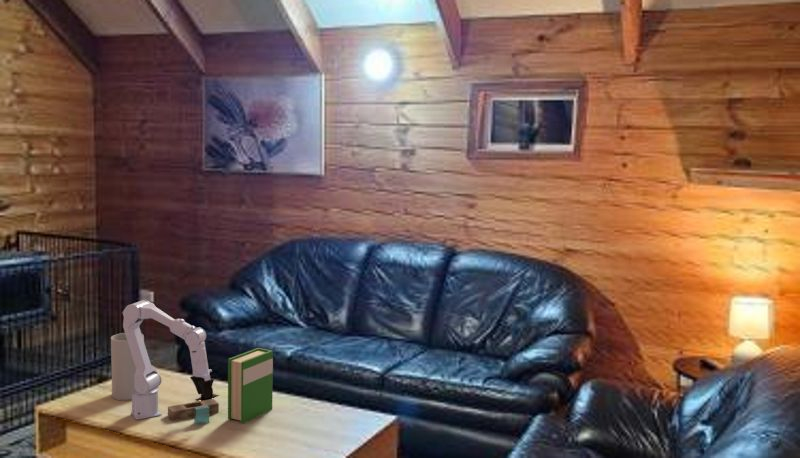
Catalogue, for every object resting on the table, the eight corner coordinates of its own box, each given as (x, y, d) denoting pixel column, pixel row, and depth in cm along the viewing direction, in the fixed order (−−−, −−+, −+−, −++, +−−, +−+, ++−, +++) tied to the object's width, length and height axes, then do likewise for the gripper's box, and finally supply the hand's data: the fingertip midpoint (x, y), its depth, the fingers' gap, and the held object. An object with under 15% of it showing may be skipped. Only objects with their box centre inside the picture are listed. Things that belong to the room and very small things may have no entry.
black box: (204, 405, 289) (204, 394, 288) (189, 402, 292) (189, 391, 291) (223, 395, 300) (223, 385, 300) (209, 392, 303) (209, 382, 302)
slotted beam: (172, 420, 271) (172, 411, 270) (167, 415, 276) (167, 406, 275) (218, 412, 280) (218, 403, 280) (213, 407, 285) (213, 398, 285)
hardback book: (242, 423, 270) (243, 362, 267) (227, 419, 273) (228, 358, 270) (272, 409, 285) (272, 350, 282) (257, 405, 289) (258, 347, 286)
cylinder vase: (111, 392, 298) (110, 334, 295) (142, 388, 303) (142, 331, 300) (112, 402, 287) (111, 342, 284) (145, 398, 292) (145, 339, 289)
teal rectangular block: (196, 425, 267) (196, 409, 267) (194, 422, 269) (194, 407, 269) (209, 422, 270) (209, 407, 269) (207, 420, 272) (207, 405, 271)
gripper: (216, 361, 265) (221, 396, 267) (203, 355, 277) (208, 389, 279) (197, 365, 261) (202, 401, 263) (185, 359, 274) (190, 394, 275)
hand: (204, 395), depth 270 cm, fingers open, 7 cm apart
